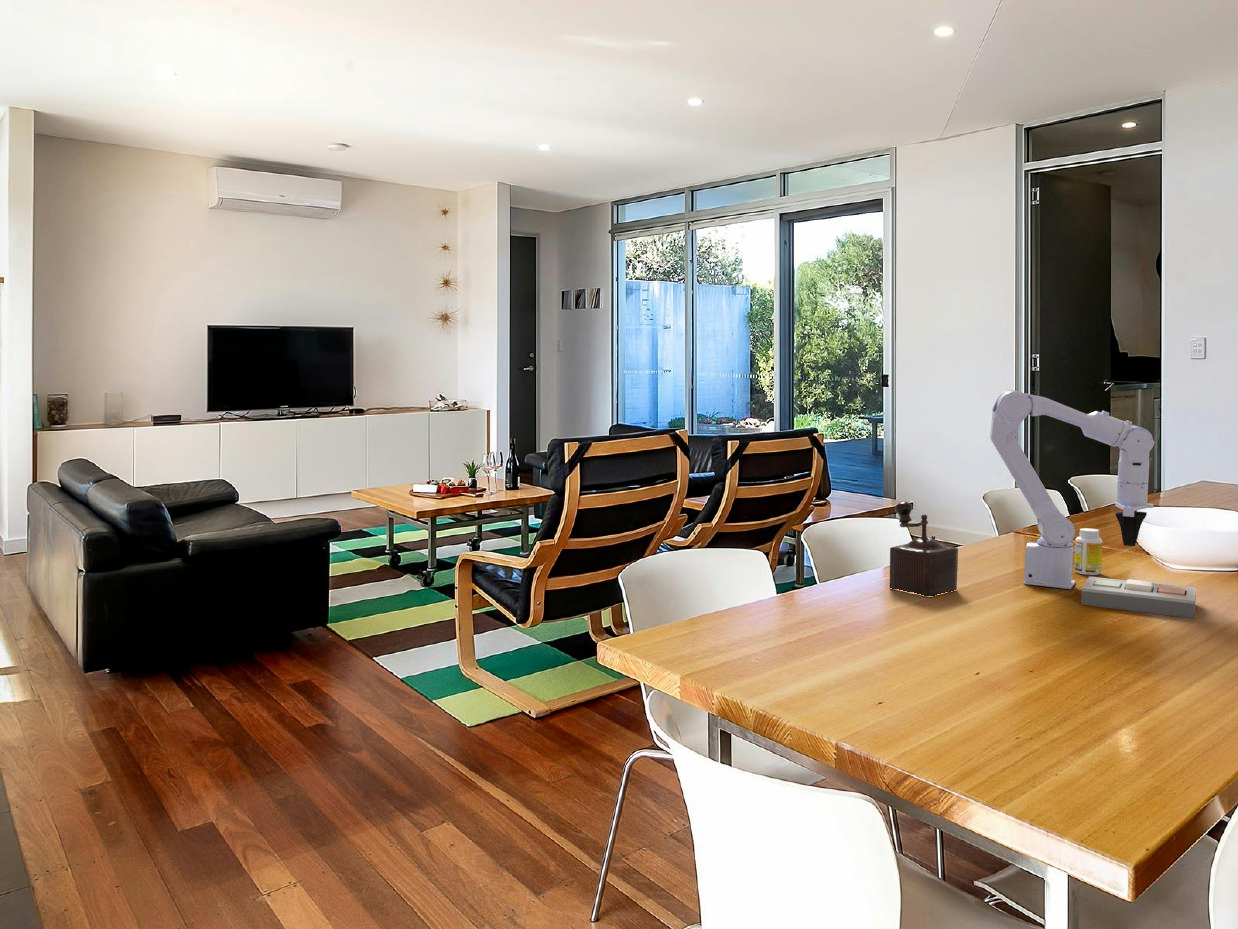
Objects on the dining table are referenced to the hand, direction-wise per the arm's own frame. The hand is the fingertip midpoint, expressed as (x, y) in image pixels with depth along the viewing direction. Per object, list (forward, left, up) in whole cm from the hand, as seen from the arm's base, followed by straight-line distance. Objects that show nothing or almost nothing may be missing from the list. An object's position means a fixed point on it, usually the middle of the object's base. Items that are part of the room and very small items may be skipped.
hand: (1129, 545), depth 195 cm
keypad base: (+3, -14, -9) cm, 17 cm away
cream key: (+3, -14, -7) cm, 16 cm away
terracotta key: (+9, -14, -8) cm, 18 cm away
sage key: (-3, -14, -8) cm, 16 cm away
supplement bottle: (-9, +12, -10) cm, 18 cm away
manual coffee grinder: (-39, -23, -10) cm, 46 cm away
